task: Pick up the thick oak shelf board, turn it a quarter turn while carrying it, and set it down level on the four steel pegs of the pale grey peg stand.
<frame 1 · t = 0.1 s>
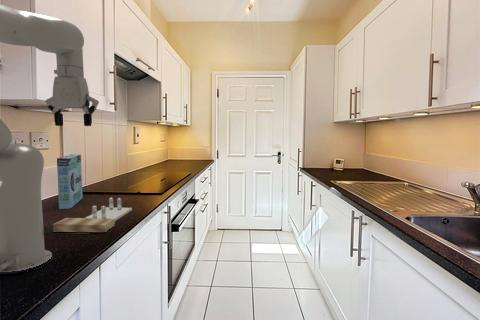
hand: (73, 125, 95), 37 cm above the counter, tool pointing down, fingers open, 9 cm apart
light blue carton: (71, 204, 136), on the counter
oak shelf board: (85, 230, 101), on the counter
peg stand: (107, 216, 116), on the counter
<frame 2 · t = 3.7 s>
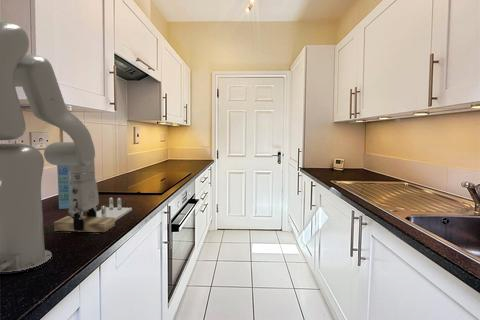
hand: (85, 225, 101), 1 cm above the counter, tool pointing down, fingers closed on oak shelf board, 7 cm apart
oak shelf board: (85, 229, 101), on the counter, touching gripper
everything else where it was.
when the fingers open (8 cm above the counter, at t = 11.0 s): oak shelf board stays where it is, resting on peg stand.
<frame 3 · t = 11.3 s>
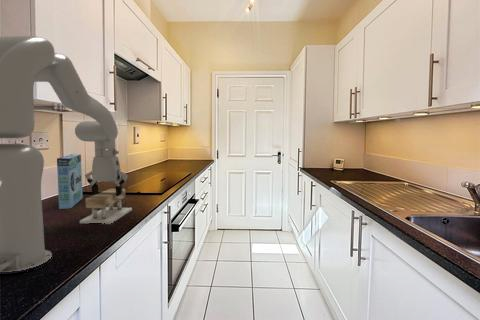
hand: (107, 195, 116), 9 cm above the counter, tool pointing down, fingers open, 9 cm apart
oak shelf board: (107, 201, 116), point 6 cm above the counter, touching peg stand
everything else where it was.
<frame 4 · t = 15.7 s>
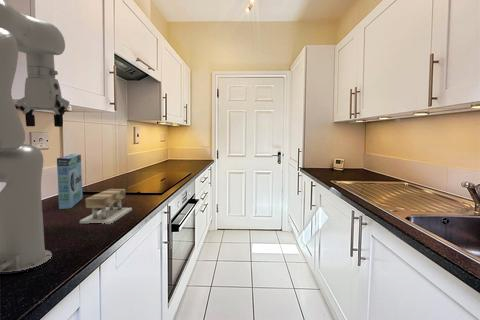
hand: (44, 126, 95), 36 cm above the counter, tool pointing down, fingers open, 9 cm apart
nothing on the counter moved.
at the end: oak shelf board 0.1 cm off-centre on the peg stand, point 6.0 cm above the peg stand's base; oak shelf board tilted 0°; the gripper is holding nothing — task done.
